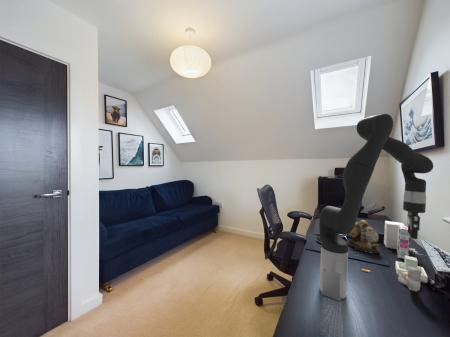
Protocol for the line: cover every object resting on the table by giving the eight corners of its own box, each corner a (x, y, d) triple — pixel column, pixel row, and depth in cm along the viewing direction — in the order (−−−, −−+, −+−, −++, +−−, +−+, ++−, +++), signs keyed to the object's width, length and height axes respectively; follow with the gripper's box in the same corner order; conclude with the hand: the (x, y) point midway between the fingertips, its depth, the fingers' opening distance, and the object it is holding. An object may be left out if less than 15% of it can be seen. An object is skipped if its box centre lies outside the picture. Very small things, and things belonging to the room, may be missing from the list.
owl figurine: (341, 244, 126) (342, 218, 126) (350, 241, 132) (351, 215, 132) (375, 256, 111) (376, 225, 111) (383, 251, 117) (384, 222, 117)
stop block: (416, 276, 89) (417, 261, 89) (404, 273, 92) (405, 258, 92) (415, 272, 93) (416, 257, 92) (404, 269, 95) (404, 255, 95)
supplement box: (401, 246, 126) (402, 222, 126) (405, 251, 119) (406, 226, 118) (383, 242, 131) (384, 220, 131) (385, 247, 123) (386, 223, 123)
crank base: (418, 282, 86) (418, 278, 86) (421, 290, 80) (422, 285, 80) (362, 267, 98) (362, 263, 98) (361, 273, 92) (362, 268, 92)
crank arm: (400, 273, 89) (401, 255, 88) (416, 277, 86) (417, 258, 85) (405, 290, 76) (406, 269, 76) (423, 295, 73) (424, 273, 73)
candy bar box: (409, 261, 106) (411, 230, 106) (397, 258, 109) (398, 228, 109) (408, 254, 115) (409, 225, 114) (396, 251, 118) (397, 224, 117)
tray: (427, 283, 85) (427, 276, 85) (397, 275, 91) (397, 268, 91) (422, 273, 93) (423, 267, 93) (395, 266, 99) (395, 260, 99)
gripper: (429, 204, 84) (427, 242, 84) (422, 200, 95) (420, 234, 95) (405, 202, 88) (403, 238, 88) (401, 198, 99) (399, 230, 100)
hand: (412, 236), depth 92 cm, fingers open, 8 cm apart
